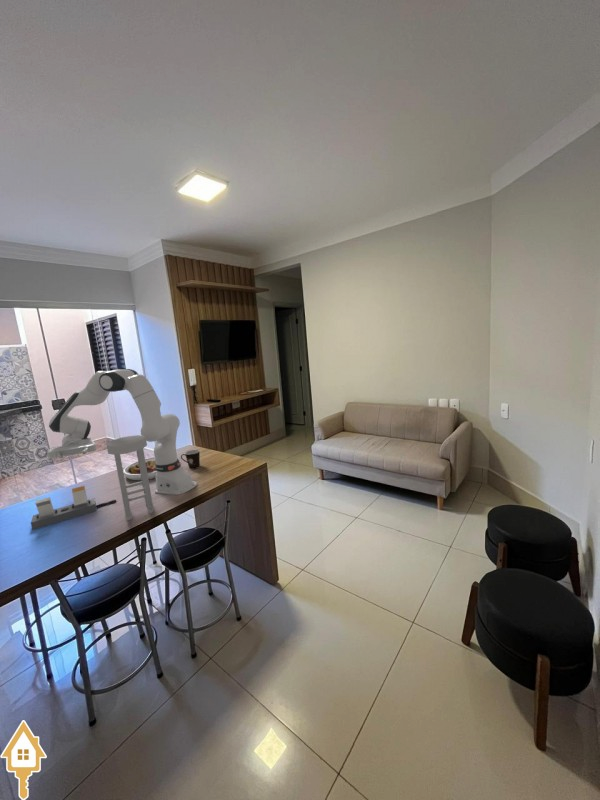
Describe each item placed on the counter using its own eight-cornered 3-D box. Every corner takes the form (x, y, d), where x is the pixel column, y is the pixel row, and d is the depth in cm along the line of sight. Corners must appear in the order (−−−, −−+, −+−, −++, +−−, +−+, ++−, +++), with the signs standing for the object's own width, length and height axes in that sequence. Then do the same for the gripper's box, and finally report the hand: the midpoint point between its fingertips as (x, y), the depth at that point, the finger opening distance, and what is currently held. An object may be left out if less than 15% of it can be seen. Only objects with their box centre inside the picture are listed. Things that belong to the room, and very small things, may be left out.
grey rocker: (53, 509, 146) (49, 497, 142) (53, 513, 144) (49, 500, 141) (40, 513, 143) (35, 500, 139) (40, 516, 141) (35, 503, 138)
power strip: (115, 498, 162) (113, 490, 162) (116, 504, 156) (115, 496, 155) (34, 522, 145) (32, 512, 144) (32, 530, 138) (30, 520, 137)
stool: (159, 512, 145) (147, 439, 139) (121, 524, 137) (107, 448, 131) (154, 499, 158) (143, 433, 152) (119, 510, 150) (106, 440, 144)
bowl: (129, 468, 206) (127, 457, 204) (178, 459, 215) (176, 449, 214) (120, 486, 178) (117, 473, 176) (176, 476, 187) (174, 463, 186)
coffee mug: (204, 465, 200) (202, 450, 198) (193, 470, 193) (191, 455, 191) (192, 463, 206) (190, 448, 204) (181, 467, 199) (179, 452, 197)
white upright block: (87, 501, 153) (84, 485, 154) (87, 501, 151) (84, 485, 152) (75, 505, 150) (72, 488, 151) (74, 505, 148) (71, 488, 149)
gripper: (46, 444, 161) (45, 453, 150) (93, 437, 172) (95, 444, 162) (48, 456, 162) (47, 465, 151) (95, 448, 174) (97, 456, 163)
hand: (72, 454), depth 156 cm, fingers open, 8 cm apart
